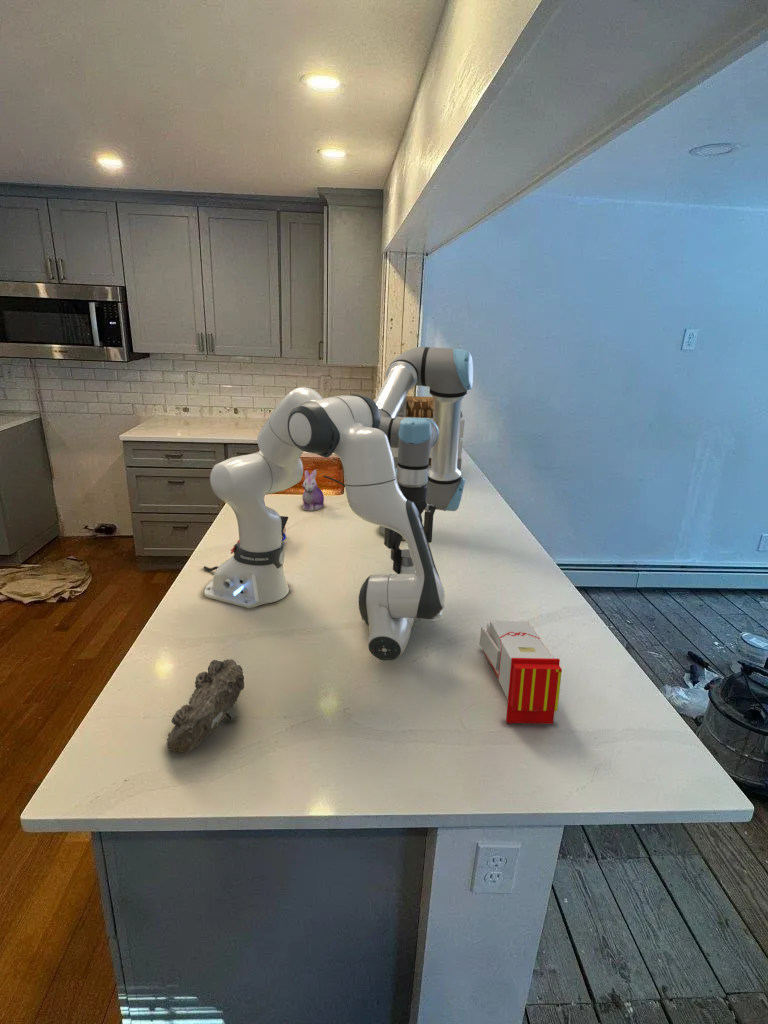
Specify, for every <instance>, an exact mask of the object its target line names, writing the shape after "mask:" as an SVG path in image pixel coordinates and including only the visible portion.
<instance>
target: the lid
mask: <svg viewBox="0 0 768 1024" xmlns="http://www.w3.org/2000/svg"><path fill="white" fill-rule="evenodd" d="M401 550H402V552H401V565H403V566H413V565H414V564H413V561H412V558H411V554H410V551H409V548H408V549H405V548H404V549H401Z"/></svg>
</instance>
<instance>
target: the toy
mask: <svg viewBox="0 0 768 1024" xmlns="http://www.w3.org/2000/svg"><path fill="white" fill-rule="evenodd" d="M478 642H479V643H478V644H479V646H480V647H481V650H482V651H483V654H484V655H485V657H486V659H487V661H488V663H489V664H490V666H491V669H492V670H493V672H494V674H495V676H496V678H497V679H498V682H499V684H500V687H501V688H502V691H503V693H504V695H505V697H506V699H507V706H506V717H505V722H506V724H547V725H549V724H551V725H553V724H554V718H555V712H558V711H559V710H558V709H559V698H560V689H561V682H562V681H561V680H562V672H563V671H562V667H561V666H560V663H561V659H560V658H554V656H553V654H552V653H551V651H550V650H549V649H548V647H547V646H546V644H545V643H544V642H543V640H542V638H540V636H539V635H538V633H537V631H536V630H535V627H534V626H532V625H531V623H530V622H529V620H528V621H527V620H526V621H525V620H524V621H523V620H490V621H489V622H487V623H486V628H485V626H480V634H479V641H478Z"/></svg>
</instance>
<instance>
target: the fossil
mask: <svg viewBox="0 0 768 1024" xmlns="http://www.w3.org/2000/svg"><path fill="white" fill-rule="evenodd" d="M243 670H244V669H243V667H242V665H240V664H237V662H236V661H235V660H234V659H232V658H231V659H227V658H226V659H224V660H223V661H222V660H217V659H212V660H211V661H210V663H209V665H208V666H207V671H201V672H199V673H198V674H197V675H196V676H195V680H194V684H195V685H194V687H195V689H194V690H193V693H192V694H191V697H190V698H189V700H188V704H184V705H182V706H181V707H180V709H177V710H176V711H175V713H174V715H173V716H172V718H171V723H172V724H173V727H172V730H171V731H170V732H168V734H167V738H166V741H167V742H166V745H167V749H168V750H169V751H173V752H174V753H176V754H178V753H182V752H188V751H189V752H192V751H193V750H195V748H196V747H197V746H199V744H200V743H201V742H203V741H204V740H205V739H206V738H207V737H208V736H209V735H210V734H211V733H212V732H214V730H215V729H217V727H218V726H219V724H220V722H221V721H222V720H223V719H224V718H225V716H226V717H227V719H229V720H233V717H232V715H230V714H229V710H230V709H231V708H234V706H235V704H236V703H237V702H238V699H239V697H240V695H241V693H242V691H243V690H245V689H244V688H245V675H244V671H243Z"/></svg>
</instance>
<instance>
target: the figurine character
mask: <svg viewBox="0 0 768 1024" xmlns="http://www.w3.org/2000/svg"><path fill="white" fill-rule="evenodd" d="M279 516H280V517H281V525H282V542H283V543H284V541H285V540H287V536H286V532H287V530H286V528H287V527H286V525H287V522H288V520H289V516H287V515H286V516H285V515H279Z"/></svg>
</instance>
